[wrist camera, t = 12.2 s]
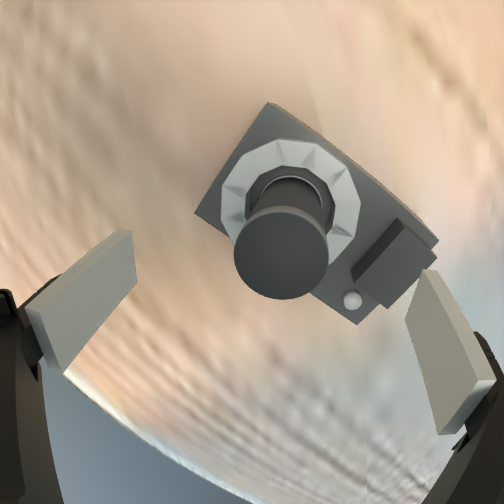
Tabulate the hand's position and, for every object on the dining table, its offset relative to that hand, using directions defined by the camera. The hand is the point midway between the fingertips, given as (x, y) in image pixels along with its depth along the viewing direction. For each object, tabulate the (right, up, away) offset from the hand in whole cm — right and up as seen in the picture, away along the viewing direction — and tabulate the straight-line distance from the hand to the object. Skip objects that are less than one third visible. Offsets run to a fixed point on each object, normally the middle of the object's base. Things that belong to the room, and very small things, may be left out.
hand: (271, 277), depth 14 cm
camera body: (+6, +6, +17) cm, 19 cm away
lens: (+2, +5, +12) cm, 13 cm away
